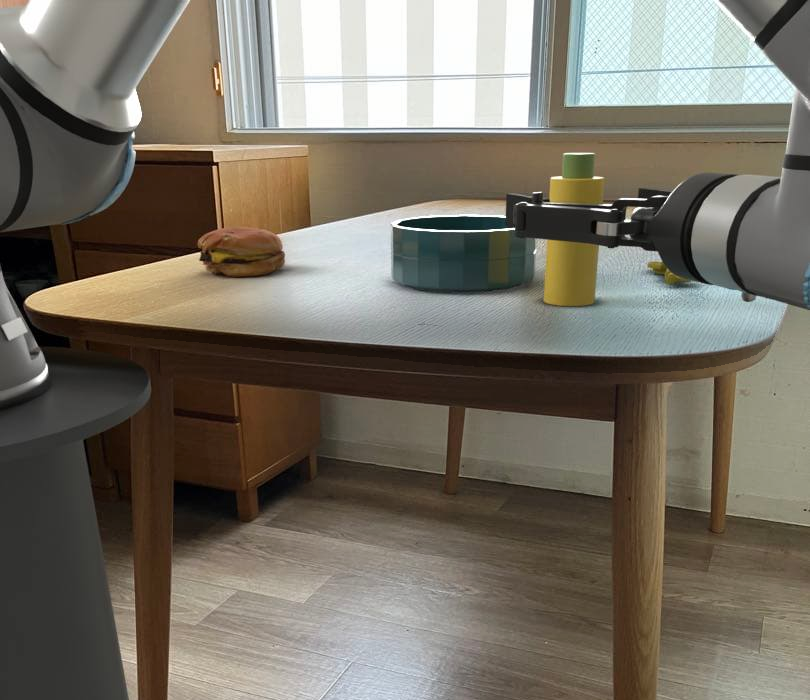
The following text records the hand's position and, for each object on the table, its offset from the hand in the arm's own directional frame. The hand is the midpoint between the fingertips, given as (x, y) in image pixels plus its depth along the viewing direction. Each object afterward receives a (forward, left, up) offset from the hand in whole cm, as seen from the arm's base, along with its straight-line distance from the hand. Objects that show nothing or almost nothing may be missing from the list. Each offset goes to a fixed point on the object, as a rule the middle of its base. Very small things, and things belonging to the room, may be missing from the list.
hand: (576, 206), depth 81 cm
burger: (-40, +1, -9) cm, 41 cm away
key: (+5, +18, -9) cm, 20 cm away
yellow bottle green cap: (0, 0, -9) cm, 9 cm away
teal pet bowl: (-14, +6, -9) cm, 18 cm away
